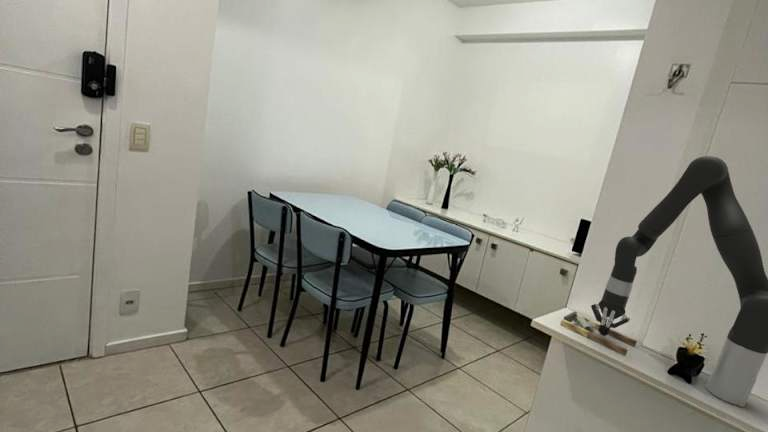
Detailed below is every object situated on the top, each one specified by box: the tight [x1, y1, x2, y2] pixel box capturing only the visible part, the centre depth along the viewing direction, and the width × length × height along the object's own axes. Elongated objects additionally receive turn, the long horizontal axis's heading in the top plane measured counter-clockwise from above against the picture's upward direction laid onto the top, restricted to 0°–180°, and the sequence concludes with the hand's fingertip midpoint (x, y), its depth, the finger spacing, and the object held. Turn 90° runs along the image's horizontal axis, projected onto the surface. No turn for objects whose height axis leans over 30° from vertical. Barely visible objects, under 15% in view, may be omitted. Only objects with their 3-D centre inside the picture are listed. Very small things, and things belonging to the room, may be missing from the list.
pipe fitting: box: [573, 315, 596, 333], centre depth 148 cm, size 8×4×7 cm
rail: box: [560, 311, 638, 357], centre depth 145 cm, size 22×14×3 cm, turn 44°
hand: (602, 334), depth 144 cm, fingers closed
